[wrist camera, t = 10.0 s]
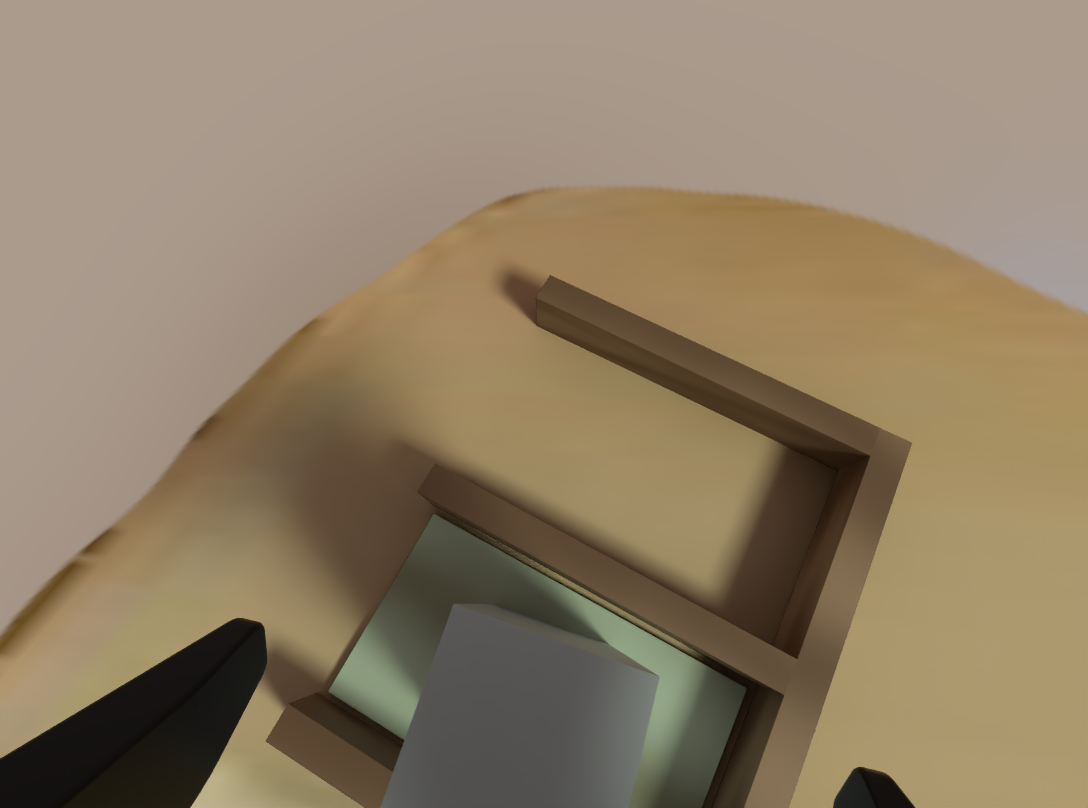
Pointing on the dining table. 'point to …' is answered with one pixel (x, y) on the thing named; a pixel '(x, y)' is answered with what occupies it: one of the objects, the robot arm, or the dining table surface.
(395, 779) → the tall grey square prism
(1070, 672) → the dining table surface
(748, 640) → the comb rack
